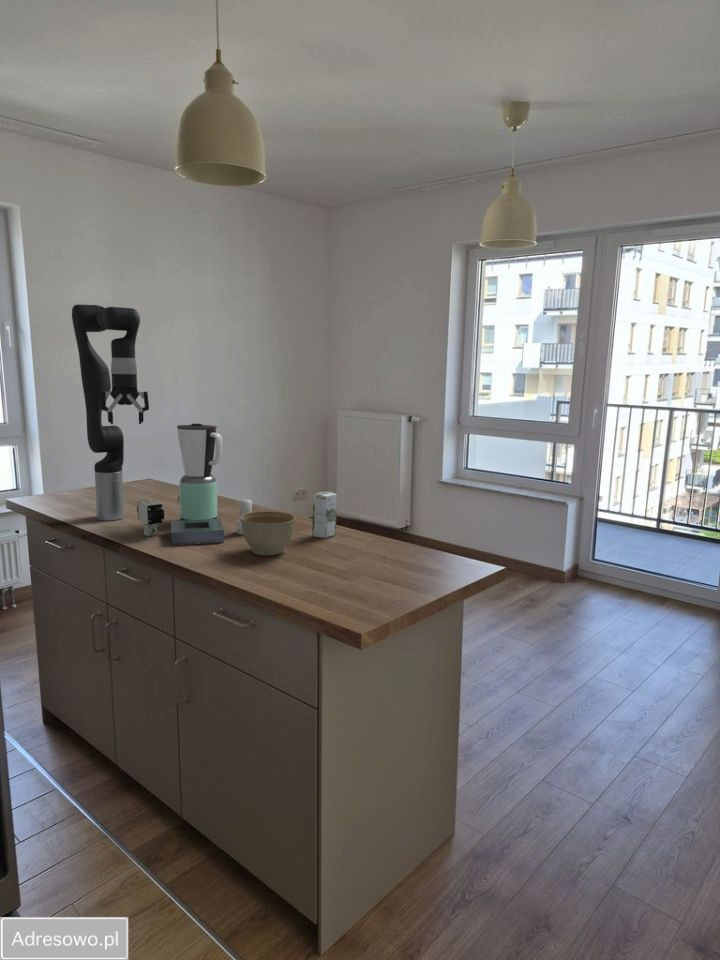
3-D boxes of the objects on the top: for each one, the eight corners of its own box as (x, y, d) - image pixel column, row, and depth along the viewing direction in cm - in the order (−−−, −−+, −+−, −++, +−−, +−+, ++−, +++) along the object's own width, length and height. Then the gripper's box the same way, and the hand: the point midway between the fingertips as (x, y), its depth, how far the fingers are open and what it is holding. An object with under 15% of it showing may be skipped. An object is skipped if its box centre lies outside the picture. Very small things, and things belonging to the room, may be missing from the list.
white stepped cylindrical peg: (235, 530, 218) (236, 498, 216) (253, 530, 220) (254, 498, 218) (237, 535, 212) (237, 502, 210) (255, 534, 214) (255, 502, 212)
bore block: (171, 532, 214) (171, 520, 213) (220, 530, 218) (220, 518, 218) (171, 545, 199) (171, 532, 198) (224, 542, 203) (224, 530, 203)
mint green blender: (167, 522, 227) (164, 423, 221) (193, 515, 239) (191, 421, 233) (209, 529, 219) (208, 427, 213) (234, 521, 231) (233, 424, 225)
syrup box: (322, 532, 218) (323, 490, 216) (336, 535, 215) (337, 493, 213) (311, 536, 214) (312, 493, 211) (325, 539, 211) (326, 495, 208)
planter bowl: (250, 562, 184) (250, 525, 182) (234, 548, 198) (233, 513, 196) (302, 556, 191) (303, 520, 189) (283, 542, 205) (283, 509, 203)
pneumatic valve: (150, 540, 204) (149, 503, 202) (136, 532, 213) (135, 496, 211) (167, 537, 208) (166, 501, 206) (153, 530, 217) (152, 495, 214)
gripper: (148, 373, 208) (149, 423, 211) (101, 372, 204) (103, 423, 207) (147, 373, 201) (149, 425, 203) (98, 372, 197) (101, 425, 199)
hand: (126, 424), depth 205 cm, fingers open, 8 cm apart
